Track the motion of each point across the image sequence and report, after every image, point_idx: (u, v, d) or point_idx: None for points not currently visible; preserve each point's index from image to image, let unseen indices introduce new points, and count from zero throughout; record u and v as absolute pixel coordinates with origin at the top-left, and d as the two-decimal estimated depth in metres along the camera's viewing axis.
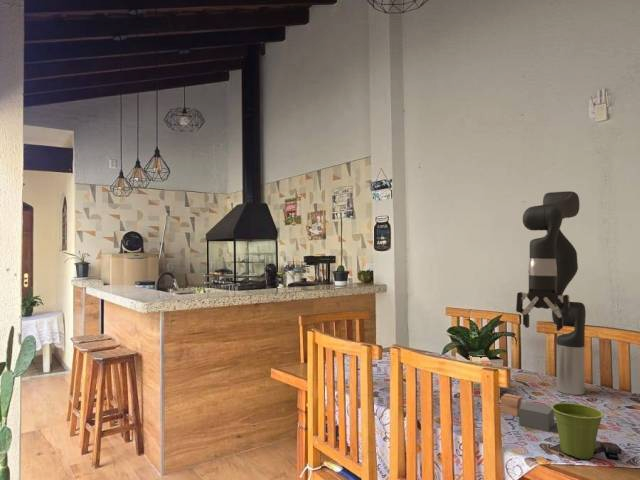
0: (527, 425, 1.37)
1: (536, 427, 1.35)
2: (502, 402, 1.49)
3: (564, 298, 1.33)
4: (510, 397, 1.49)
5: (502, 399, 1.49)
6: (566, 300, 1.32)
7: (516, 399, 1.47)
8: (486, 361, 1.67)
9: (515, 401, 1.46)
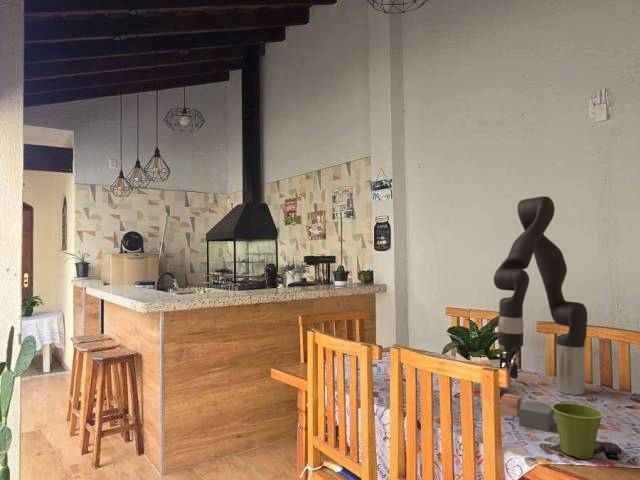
0: (527, 425, 1.37)
1: (536, 427, 1.35)
2: (502, 402, 1.49)
3: (519, 349, 1.54)
4: (510, 397, 1.49)
5: (502, 399, 1.49)
6: (519, 350, 1.54)
7: (516, 399, 1.47)
8: (486, 361, 1.68)
9: (515, 401, 1.46)
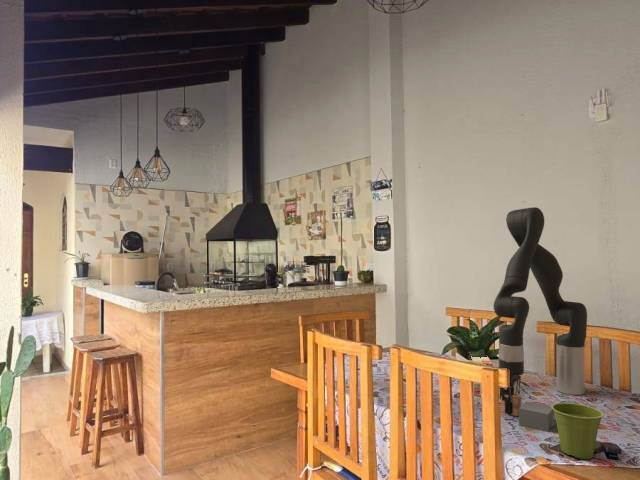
0: (527, 425, 1.37)
1: (536, 427, 1.35)
2: (502, 402, 1.49)
3: (520, 378, 1.53)
4: None
5: None
6: (520, 380, 1.54)
7: (516, 399, 1.47)
8: (487, 361, 1.68)
9: (515, 401, 1.46)
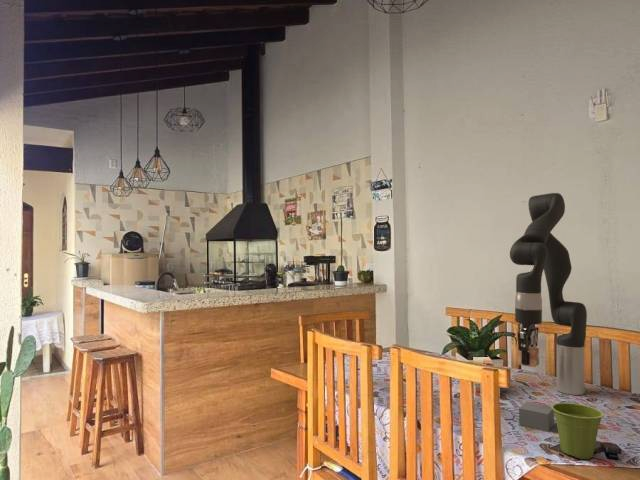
0: (527, 425, 1.37)
1: (536, 427, 1.35)
2: (518, 353, 1.41)
3: (537, 330, 1.46)
4: None
5: (518, 350, 1.41)
6: (537, 332, 1.46)
7: (533, 349, 1.40)
8: (488, 360, 1.68)
9: (532, 351, 1.39)
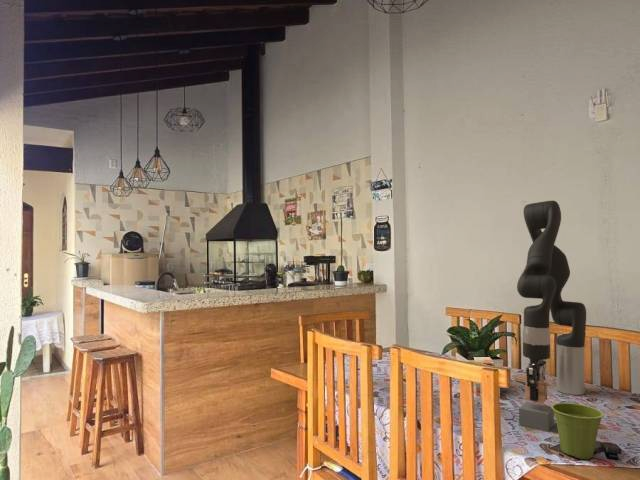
0: (527, 425, 1.37)
1: (536, 427, 1.35)
2: (526, 388, 1.39)
3: (545, 363, 1.43)
4: None
5: None
6: (545, 365, 1.44)
7: (542, 385, 1.37)
8: (488, 360, 1.69)
9: (541, 387, 1.36)
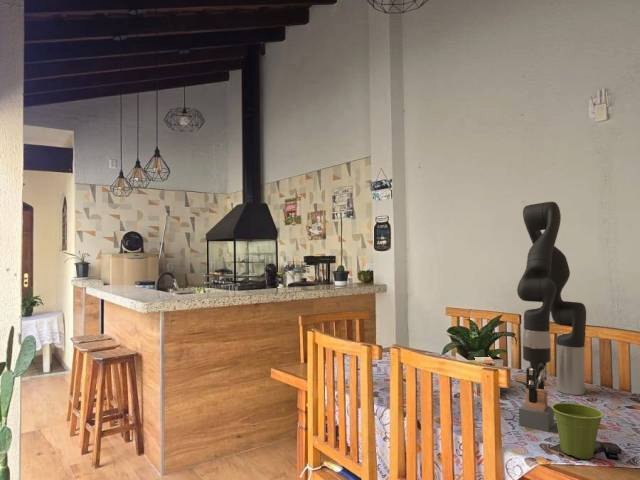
0: (527, 425, 1.37)
1: (536, 427, 1.35)
2: (527, 396, 1.39)
3: (545, 364, 1.43)
4: None
5: (527, 393, 1.39)
6: (545, 365, 1.44)
7: (542, 393, 1.37)
8: (489, 360, 1.69)
9: (542, 395, 1.36)
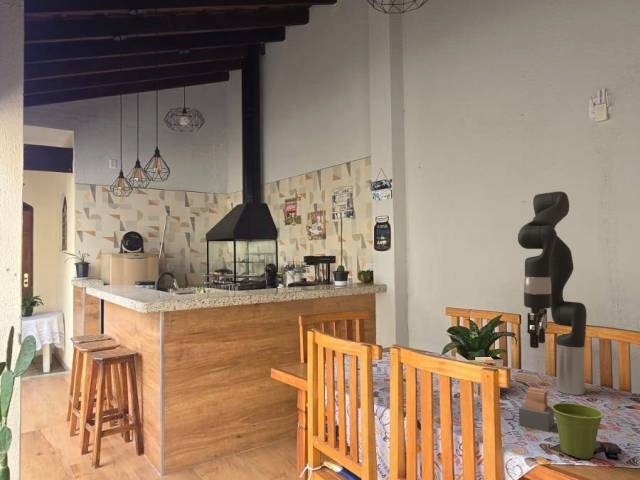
0: (527, 425, 1.37)
1: (536, 427, 1.35)
2: (527, 396, 1.39)
3: (546, 312, 1.44)
4: (536, 391, 1.39)
5: (527, 393, 1.39)
6: (546, 313, 1.45)
7: (542, 393, 1.37)
8: (490, 360, 1.69)
9: (542, 395, 1.36)
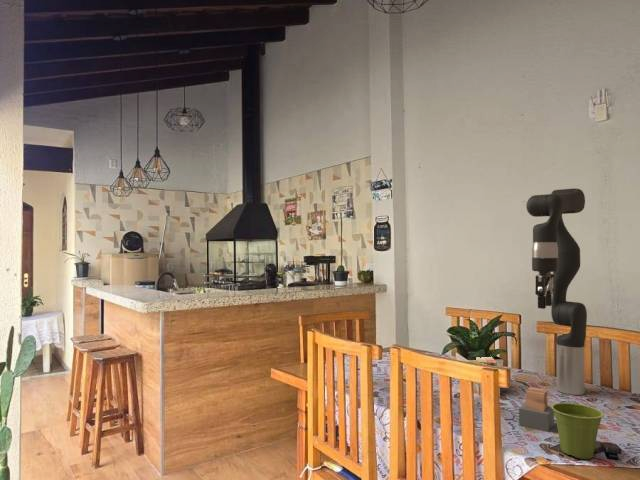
0: (527, 425, 1.37)
1: (536, 427, 1.35)
2: (527, 396, 1.39)
3: (553, 276, 1.53)
4: (536, 391, 1.39)
5: (527, 393, 1.39)
6: (553, 278, 1.53)
7: (542, 393, 1.37)
8: (491, 360, 1.70)
9: (542, 395, 1.36)
